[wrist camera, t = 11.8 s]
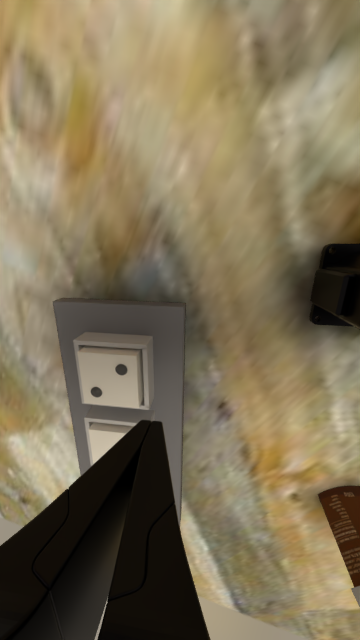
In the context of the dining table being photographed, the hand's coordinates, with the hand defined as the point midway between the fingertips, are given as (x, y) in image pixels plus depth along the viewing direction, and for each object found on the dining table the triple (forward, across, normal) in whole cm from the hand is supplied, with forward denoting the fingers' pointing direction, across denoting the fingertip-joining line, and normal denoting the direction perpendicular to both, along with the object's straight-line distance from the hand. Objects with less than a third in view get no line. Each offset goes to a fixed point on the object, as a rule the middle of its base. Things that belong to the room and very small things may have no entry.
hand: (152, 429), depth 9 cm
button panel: (+13, +6, +12) cm, 19 cm away
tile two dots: (+11, +6, +4) cm, 13 cm away
